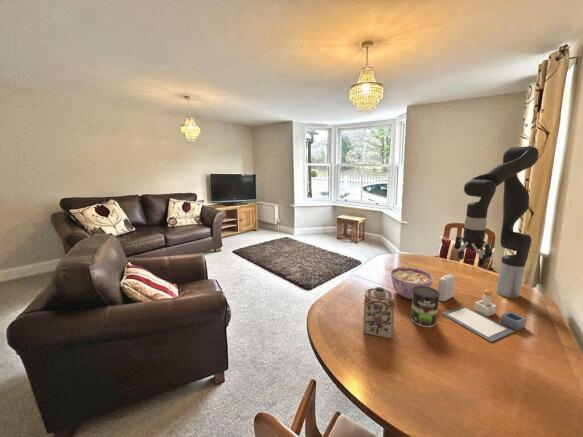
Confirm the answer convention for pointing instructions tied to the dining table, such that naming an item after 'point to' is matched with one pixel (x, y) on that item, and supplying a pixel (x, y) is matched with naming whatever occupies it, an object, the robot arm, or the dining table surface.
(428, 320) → the coffee can
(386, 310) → the decorative jar
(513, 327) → the cup
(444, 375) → the dining table surface
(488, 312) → the cup
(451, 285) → the photo printer
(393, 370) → the dining table surface
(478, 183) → the robot arm
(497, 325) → the writing board
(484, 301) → the marker
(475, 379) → the dining table surface
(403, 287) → the bowl of food
